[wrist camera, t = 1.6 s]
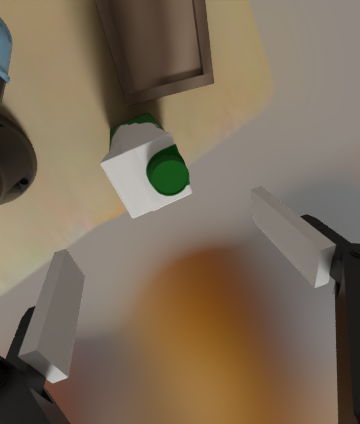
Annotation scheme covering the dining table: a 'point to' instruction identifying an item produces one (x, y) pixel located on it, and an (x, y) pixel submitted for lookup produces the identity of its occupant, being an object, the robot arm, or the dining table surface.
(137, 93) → the walnut tray
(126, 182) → the soya milk
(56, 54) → the dining table surface
